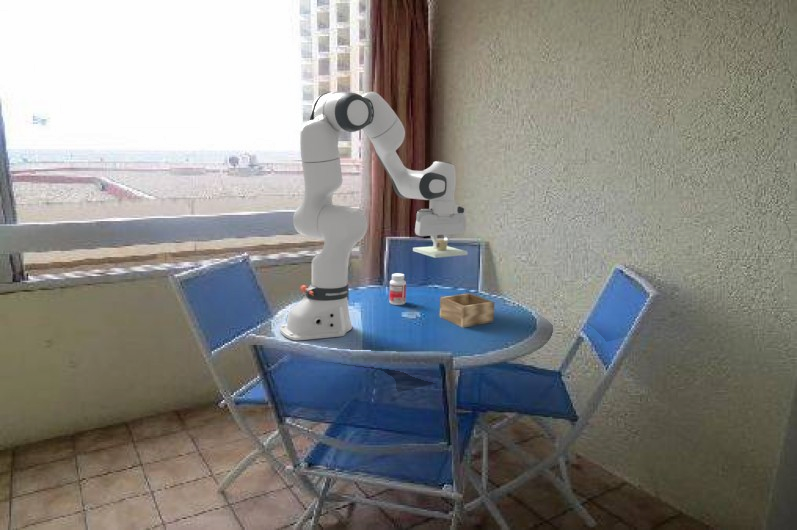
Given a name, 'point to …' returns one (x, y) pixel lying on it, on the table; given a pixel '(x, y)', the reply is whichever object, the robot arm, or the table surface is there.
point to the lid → (440, 250)
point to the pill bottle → (397, 289)
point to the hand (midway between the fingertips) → (440, 247)
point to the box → (466, 310)
